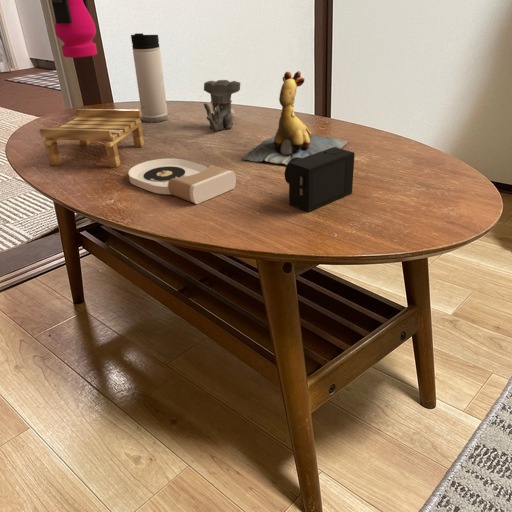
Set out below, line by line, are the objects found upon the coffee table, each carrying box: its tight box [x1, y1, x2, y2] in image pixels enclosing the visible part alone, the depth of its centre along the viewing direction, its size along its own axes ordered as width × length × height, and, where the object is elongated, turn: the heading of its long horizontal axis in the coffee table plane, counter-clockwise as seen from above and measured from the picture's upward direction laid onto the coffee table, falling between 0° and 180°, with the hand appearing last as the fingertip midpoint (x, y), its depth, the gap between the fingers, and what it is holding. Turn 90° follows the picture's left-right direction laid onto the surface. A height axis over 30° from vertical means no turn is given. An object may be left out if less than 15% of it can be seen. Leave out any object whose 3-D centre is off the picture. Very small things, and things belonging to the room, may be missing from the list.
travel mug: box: [130, 32, 169, 123], centre depth 123 cm, size 6×7×20 cm
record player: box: [128, 157, 237, 205], centre depth 90 cm, size 12×3×20 cm
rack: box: [39, 108, 145, 169], centre depth 103 cm, size 14×15×7 cm
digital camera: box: [284, 147, 355, 213], centre depth 81 cm, size 10×5×7 cm, turn 131°
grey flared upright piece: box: [203, 79, 241, 132], centre depth 119 cm, size 14×18×10 cm
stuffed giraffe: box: [241, 70, 350, 166], centre depth 100 cm, size 16×18×16 cm
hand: (73, 20), depth 95 cm, fingers closed on pepper mill, 6 cm apart
